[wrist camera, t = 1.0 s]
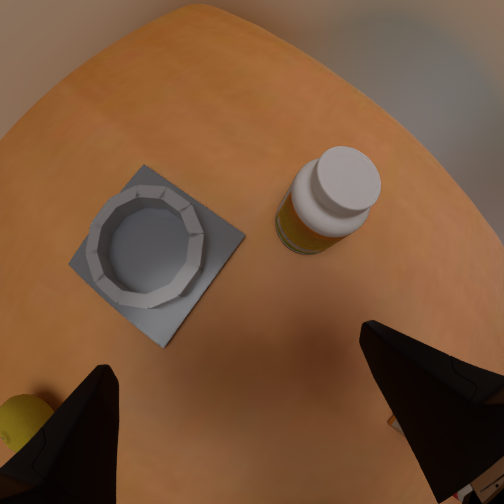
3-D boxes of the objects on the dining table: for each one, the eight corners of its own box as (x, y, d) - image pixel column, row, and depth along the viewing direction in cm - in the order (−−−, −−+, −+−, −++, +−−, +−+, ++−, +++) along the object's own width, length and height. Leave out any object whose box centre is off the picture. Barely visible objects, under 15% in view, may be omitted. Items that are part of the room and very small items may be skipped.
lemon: (39, 375, 19) (-13, 391, 11) (81, 415, 19) (35, 447, 11) (24, 409, 18) (-22, 430, 10) (62, 447, 18) (22, 479, 10)
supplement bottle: (326, 264, 24) (385, 237, 14) (266, 243, 23) (293, 200, 14) (340, 208, 25) (395, 158, 15) (284, 186, 25) (316, 122, 15)
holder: (244, 237, 23) (247, 226, 20) (165, 347, 21) (156, 353, 18) (146, 168, 24) (136, 150, 21) (72, 265, 21) (54, 259, 18)
